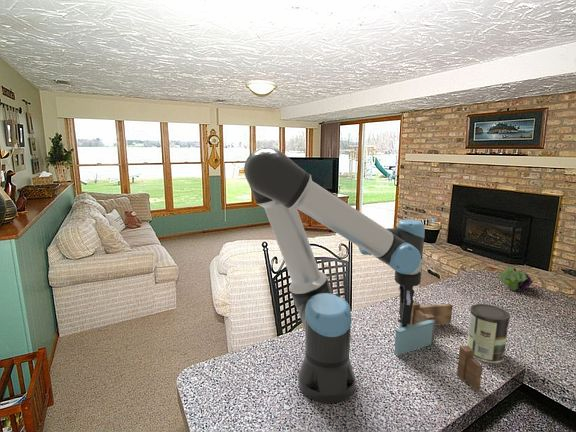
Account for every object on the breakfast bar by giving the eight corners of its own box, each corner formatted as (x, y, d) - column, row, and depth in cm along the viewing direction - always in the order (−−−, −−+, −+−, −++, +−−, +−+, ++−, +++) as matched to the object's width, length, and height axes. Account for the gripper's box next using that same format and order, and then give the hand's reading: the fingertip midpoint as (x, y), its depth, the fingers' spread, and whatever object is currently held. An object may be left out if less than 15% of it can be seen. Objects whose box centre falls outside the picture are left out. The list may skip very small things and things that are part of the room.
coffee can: (496, 345, 108) (501, 305, 105) (510, 365, 98) (516, 321, 96) (461, 342, 110) (466, 302, 107) (471, 361, 100) (476, 317, 98)
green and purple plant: (532, 296, 152) (512, 294, 145) (510, 284, 161) (490, 281, 154) (543, 276, 149) (523, 273, 142) (520, 265, 158) (500, 261, 152)
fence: (473, 392, 88) (476, 361, 86) (408, 325, 121) (410, 301, 119) (525, 386, 90) (529, 356, 88) (447, 322, 123) (449, 299, 121)
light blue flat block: (430, 341, 110) (432, 318, 108) (434, 343, 108) (436, 321, 107) (393, 353, 104) (395, 329, 102) (397, 355, 102) (399, 331, 101)
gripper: (424, 279, 96) (418, 352, 102) (417, 263, 109) (412, 329, 114) (397, 277, 98) (392, 349, 103) (393, 262, 110) (389, 327, 115)
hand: (402, 339), depth 108 cm, fingers closed
